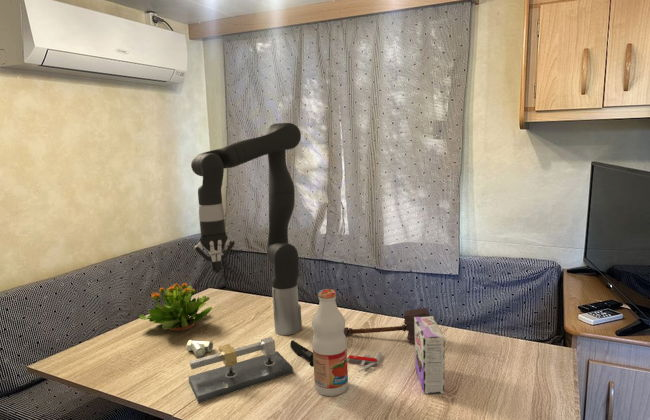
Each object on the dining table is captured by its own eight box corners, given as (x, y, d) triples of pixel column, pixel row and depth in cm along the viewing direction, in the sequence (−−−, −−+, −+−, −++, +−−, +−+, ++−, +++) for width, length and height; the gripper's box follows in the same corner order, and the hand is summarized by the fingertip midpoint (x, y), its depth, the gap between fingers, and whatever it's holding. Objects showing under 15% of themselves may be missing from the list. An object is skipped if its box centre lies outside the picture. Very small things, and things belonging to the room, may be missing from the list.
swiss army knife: (335, 372, 130) (334, 365, 130) (348, 351, 143) (348, 345, 143) (372, 377, 126) (372, 371, 126) (382, 355, 139) (382, 349, 139)
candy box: (414, 368, 130) (413, 315, 128) (434, 367, 130) (433, 315, 127) (423, 394, 117) (422, 336, 114) (445, 394, 116) (445, 336, 114)
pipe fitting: (204, 360, 142) (213, 349, 149) (202, 349, 142) (212, 338, 148) (182, 358, 144) (192, 347, 151) (180, 347, 143) (191, 337, 150)
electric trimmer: (297, 346, 148) (297, 338, 148) (322, 364, 136) (321, 354, 135) (287, 350, 146) (287, 341, 146) (312, 368, 134) (311, 358, 133)
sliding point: (230, 363, 133) (228, 341, 132) (238, 373, 127) (236, 351, 126) (220, 366, 132) (218, 344, 131) (227, 377, 125) (225, 354, 124)
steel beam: (269, 354, 138) (267, 333, 137) (276, 362, 132) (274, 340, 131) (191, 376, 126) (189, 354, 125) (195, 386, 121) (193, 362, 120)
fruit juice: (320, 376, 128) (316, 285, 124) (351, 380, 125) (348, 287, 121) (310, 394, 119) (304, 296, 115) (343, 399, 116) (339, 299, 112)
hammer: (434, 342, 143) (428, 314, 142) (340, 352, 152) (333, 325, 151) (435, 334, 149) (428, 306, 148) (344, 344, 159) (338, 318, 158)
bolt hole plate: (277, 356, 141) (277, 350, 141) (292, 373, 130) (292, 366, 130) (189, 382, 128) (188, 376, 128) (198, 403, 117) (197, 395, 117)
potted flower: (191, 309, 186) (187, 269, 184) (229, 320, 173) (225, 277, 170) (137, 331, 166) (132, 287, 164) (175, 345, 153) (170, 298, 150)
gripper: (229, 214, 141) (233, 266, 144) (187, 219, 135) (192, 273, 138) (236, 217, 135) (240, 271, 137) (192, 222, 128) (198, 279, 131)
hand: (216, 272), depth 137 cm, fingers closed
